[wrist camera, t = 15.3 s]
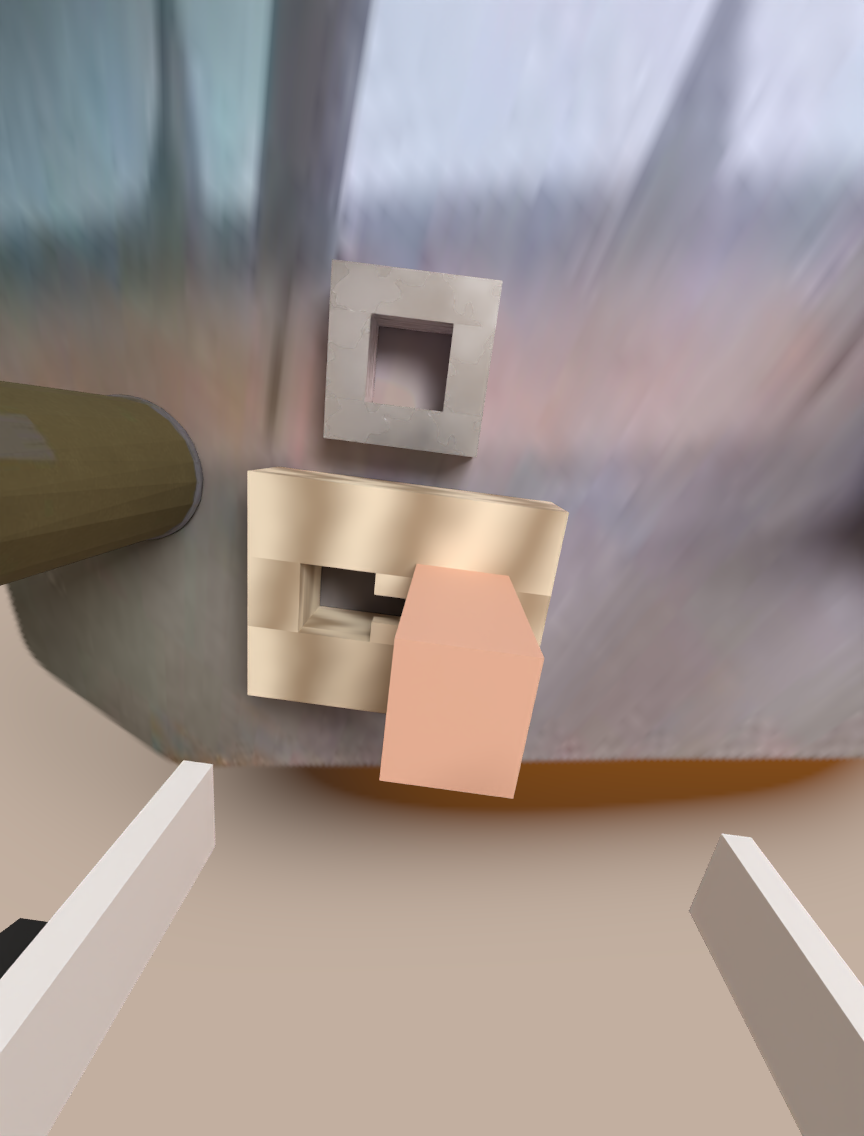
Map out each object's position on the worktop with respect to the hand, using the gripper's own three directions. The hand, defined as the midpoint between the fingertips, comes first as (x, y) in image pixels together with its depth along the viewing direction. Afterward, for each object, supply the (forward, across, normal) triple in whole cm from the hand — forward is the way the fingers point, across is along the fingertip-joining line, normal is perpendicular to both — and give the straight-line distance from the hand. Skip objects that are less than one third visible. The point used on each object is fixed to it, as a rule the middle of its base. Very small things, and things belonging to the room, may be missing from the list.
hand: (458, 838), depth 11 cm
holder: (+23, -5, +14) cm, 27 cm away
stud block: (+20, 0, -2) cm, 20 cm away
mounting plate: (+23, -4, -2) cm, 23 cm away
